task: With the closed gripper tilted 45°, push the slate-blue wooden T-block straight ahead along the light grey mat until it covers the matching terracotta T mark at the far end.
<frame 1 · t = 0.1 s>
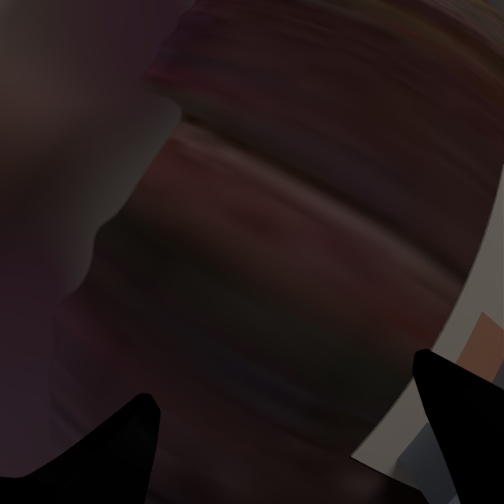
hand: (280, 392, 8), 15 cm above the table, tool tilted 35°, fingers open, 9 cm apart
t block: (486, 421, 17), resting on t mat
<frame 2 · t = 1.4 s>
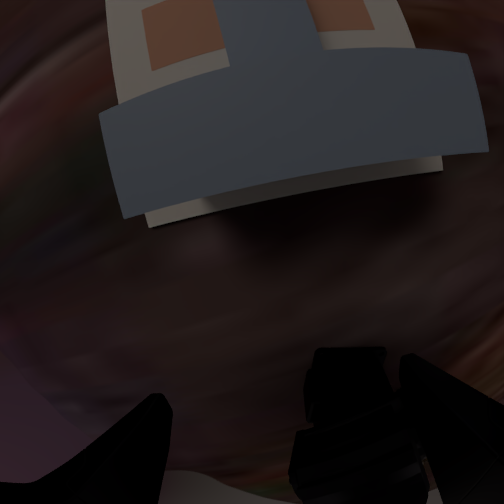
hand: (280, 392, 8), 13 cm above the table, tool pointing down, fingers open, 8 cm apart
t block: (272, 63, 16), resting on t mat
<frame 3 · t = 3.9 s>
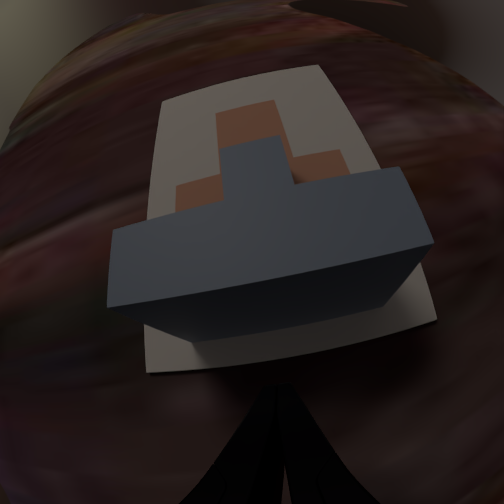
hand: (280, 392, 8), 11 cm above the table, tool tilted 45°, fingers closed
t mat: (257, 168, 27), on the table
t block: (271, 239, 23), resting on t mat
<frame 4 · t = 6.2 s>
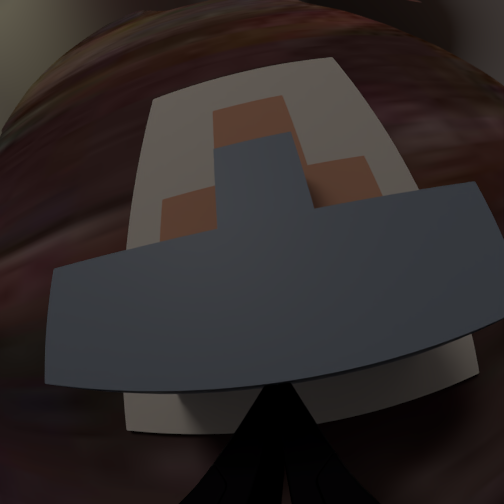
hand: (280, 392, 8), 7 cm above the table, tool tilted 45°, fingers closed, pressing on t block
t mat: (262, 178, 22), on the table
t block: (278, 266, 18), resting on t mat, touching gripper
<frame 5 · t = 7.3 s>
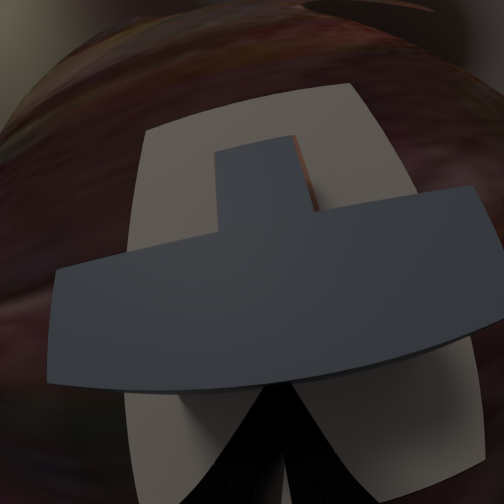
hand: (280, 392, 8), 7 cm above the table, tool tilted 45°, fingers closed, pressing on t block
t mat: (274, 251, 19), on the table
t block: (278, 268, 18), resting on t mat, touching gripper
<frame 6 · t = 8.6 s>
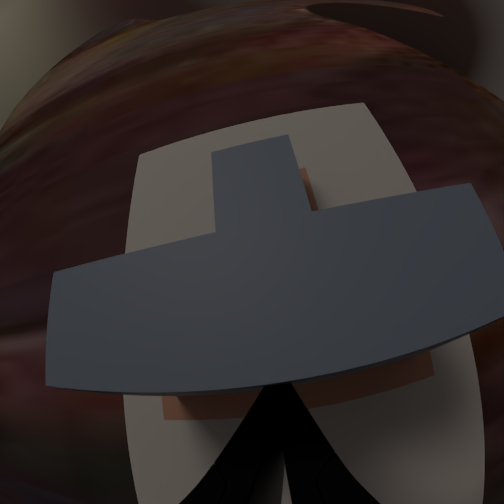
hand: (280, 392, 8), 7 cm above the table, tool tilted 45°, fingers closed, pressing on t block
t mat: (283, 310, 17), on the table
t block: (276, 268, 18), resting on t mat, touching gripper
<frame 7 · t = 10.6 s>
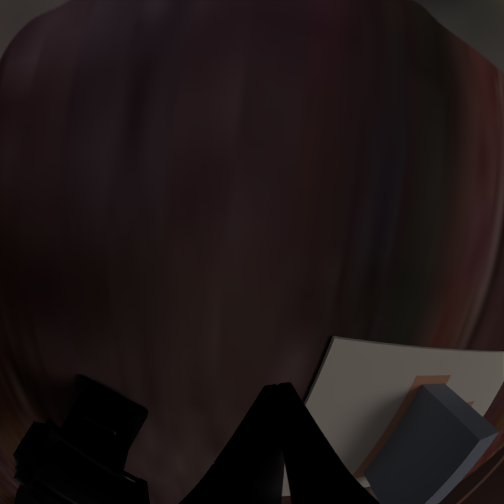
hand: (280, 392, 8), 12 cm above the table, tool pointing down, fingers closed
t mat: (416, 428, 26), on the table
t block: (430, 428, 26), resting on t mat
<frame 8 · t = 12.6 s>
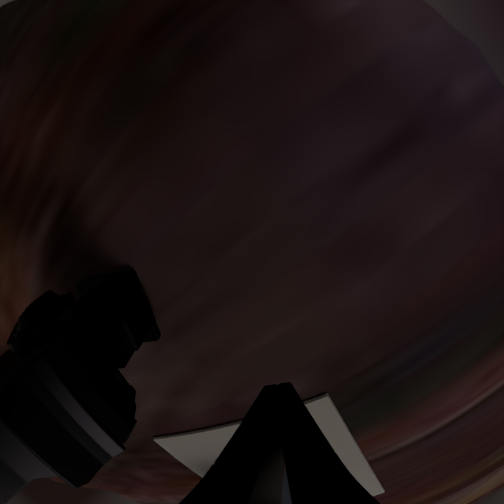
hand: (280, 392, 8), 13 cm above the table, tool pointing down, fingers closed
t mat: (291, 481, 31), on the table
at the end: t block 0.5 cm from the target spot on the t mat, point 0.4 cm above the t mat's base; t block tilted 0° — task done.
